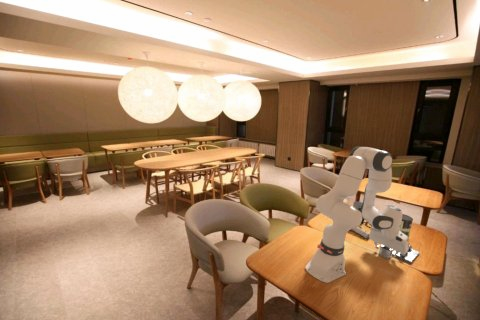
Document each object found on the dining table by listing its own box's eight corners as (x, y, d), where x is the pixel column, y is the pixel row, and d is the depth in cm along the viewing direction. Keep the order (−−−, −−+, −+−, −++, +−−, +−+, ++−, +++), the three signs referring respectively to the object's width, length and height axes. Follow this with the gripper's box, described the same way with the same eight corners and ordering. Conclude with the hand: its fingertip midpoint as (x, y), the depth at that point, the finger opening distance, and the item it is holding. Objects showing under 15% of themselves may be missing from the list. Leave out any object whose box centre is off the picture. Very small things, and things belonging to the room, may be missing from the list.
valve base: (410, 264, 134) (412, 256, 133) (391, 255, 142) (393, 247, 140) (418, 254, 143) (420, 247, 142) (400, 246, 151) (401, 239, 149)
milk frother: (348, 218, 185) (350, 201, 182) (365, 217, 188) (368, 200, 184) (359, 228, 172) (363, 209, 168) (378, 226, 175) (382, 208, 171)
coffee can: (409, 234, 165) (413, 216, 162) (408, 241, 157) (412, 222, 154) (392, 229, 171) (395, 212, 168) (390, 235, 163) (394, 217, 160)
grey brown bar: (367, 235, 156) (335, 215, 174) (364, 243, 158) (333, 222, 177) (371, 233, 158) (339, 213, 177) (368, 240, 161) (337, 221, 180)
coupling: (388, 259, 137) (389, 252, 136) (377, 254, 142) (379, 247, 140) (391, 255, 141) (393, 248, 140) (381, 250, 145) (383, 243, 144)
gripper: (368, 226, 143) (365, 245, 147) (407, 241, 128) (402, 263, 131) (373, 223, 147) (369, 242, 151) (411, 238, 132) (406, 259, 135)
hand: (385, 252), depth 141 cm, fingers open, 8 cm apart
